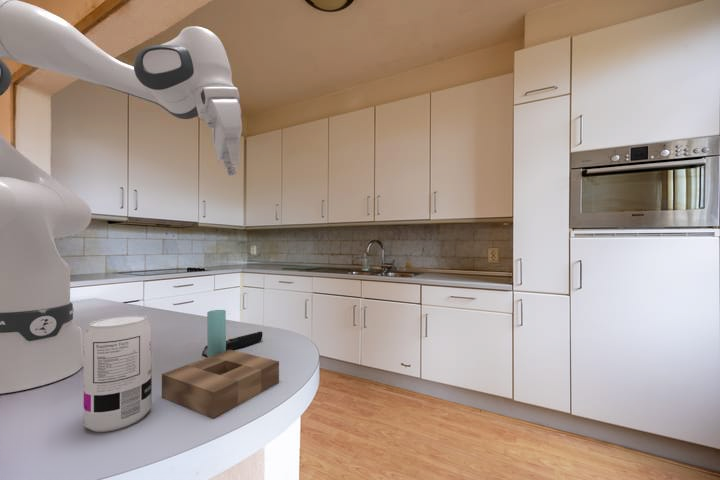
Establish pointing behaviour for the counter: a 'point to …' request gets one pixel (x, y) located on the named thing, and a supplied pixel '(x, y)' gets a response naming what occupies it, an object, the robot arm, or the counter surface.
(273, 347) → the counter surface
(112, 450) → the counter surface
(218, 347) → the peg
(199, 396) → the socket block
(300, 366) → the counter surface
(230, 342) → the electric trimmer
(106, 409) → the supplement can
